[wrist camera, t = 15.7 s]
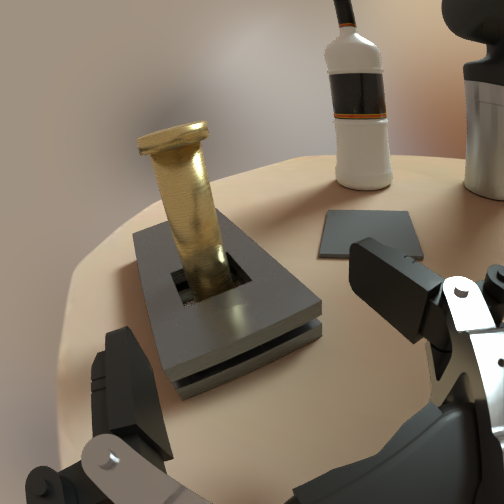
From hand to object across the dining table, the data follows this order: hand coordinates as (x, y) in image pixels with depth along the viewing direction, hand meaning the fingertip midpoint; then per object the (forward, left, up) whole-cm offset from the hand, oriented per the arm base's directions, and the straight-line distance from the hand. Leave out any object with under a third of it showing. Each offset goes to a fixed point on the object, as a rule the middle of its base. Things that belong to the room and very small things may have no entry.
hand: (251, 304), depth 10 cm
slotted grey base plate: (-11, -10, -9) cm, 17 cm away
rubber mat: (-22, +5, -9) cm, 24 cm away
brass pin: (-9, -7, -9) cm, 14 cm away
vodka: (-39, +5, -9) cm, 40 cm away
